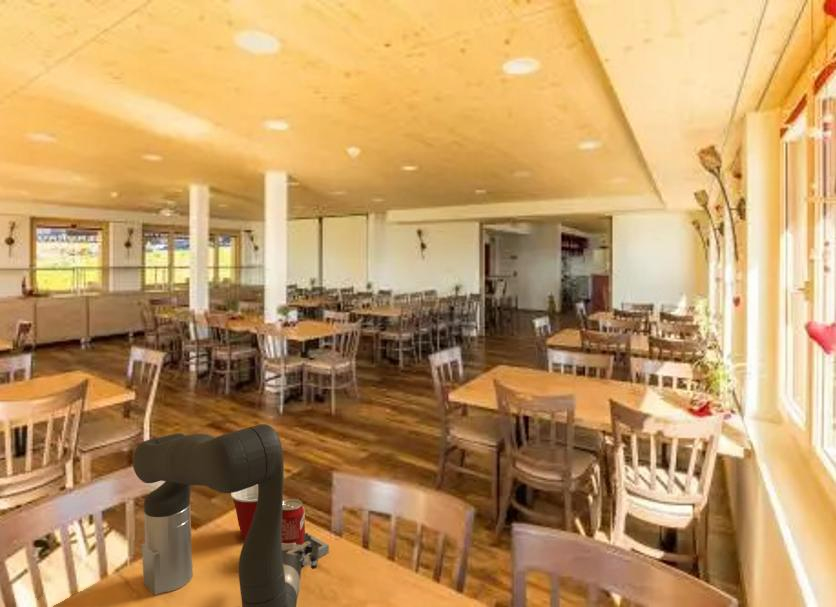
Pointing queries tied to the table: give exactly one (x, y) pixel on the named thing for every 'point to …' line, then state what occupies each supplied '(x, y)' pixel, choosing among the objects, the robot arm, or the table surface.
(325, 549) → the serving tray
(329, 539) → the table surface
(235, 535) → the table surface
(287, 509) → the soda can
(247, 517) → the plastic cup
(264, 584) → the robot arm
